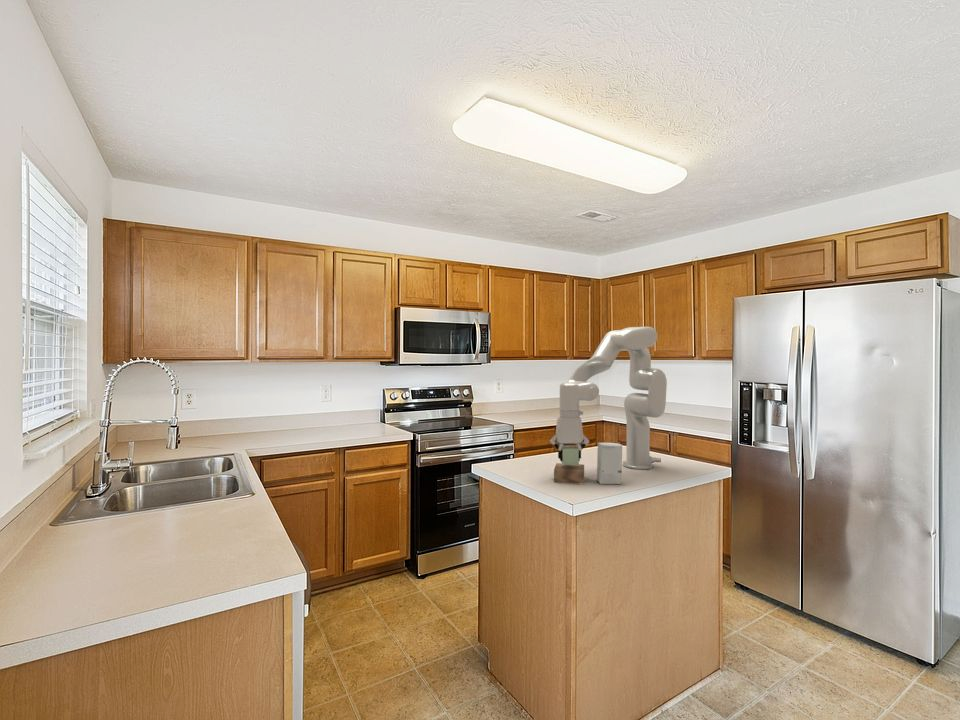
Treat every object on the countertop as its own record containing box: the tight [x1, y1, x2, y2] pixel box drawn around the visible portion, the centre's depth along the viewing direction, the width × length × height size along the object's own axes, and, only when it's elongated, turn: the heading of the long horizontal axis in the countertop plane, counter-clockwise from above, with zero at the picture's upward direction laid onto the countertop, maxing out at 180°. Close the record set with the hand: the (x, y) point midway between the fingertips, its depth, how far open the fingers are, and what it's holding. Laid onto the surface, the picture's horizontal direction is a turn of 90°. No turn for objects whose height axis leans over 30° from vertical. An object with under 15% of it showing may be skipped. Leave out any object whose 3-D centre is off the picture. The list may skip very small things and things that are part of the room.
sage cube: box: [560, 445, 580, 465], centre depth 188 cm, size 6×6×6 cm
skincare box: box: [596, 441, 623, 485], centre depth 183 cm, size 8×6×15 cm
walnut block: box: [553, 462, 585, 485], centre depth 188 cm, size 11×11×5 cm
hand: (569, 459), depth 188 cm, fingers closed on sage cube, 5 cm apart
